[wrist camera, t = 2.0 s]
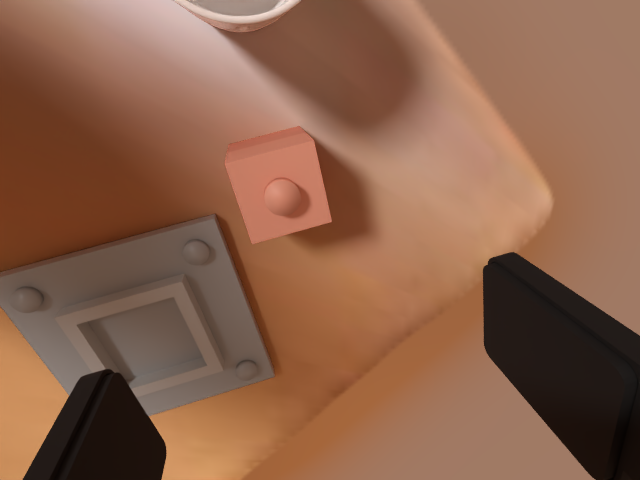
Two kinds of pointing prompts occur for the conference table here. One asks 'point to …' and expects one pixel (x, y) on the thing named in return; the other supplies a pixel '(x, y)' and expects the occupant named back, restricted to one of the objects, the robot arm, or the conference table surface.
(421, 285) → the conference table surface
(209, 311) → the baseplate
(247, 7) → the white cup
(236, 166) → the pink knobbed block
